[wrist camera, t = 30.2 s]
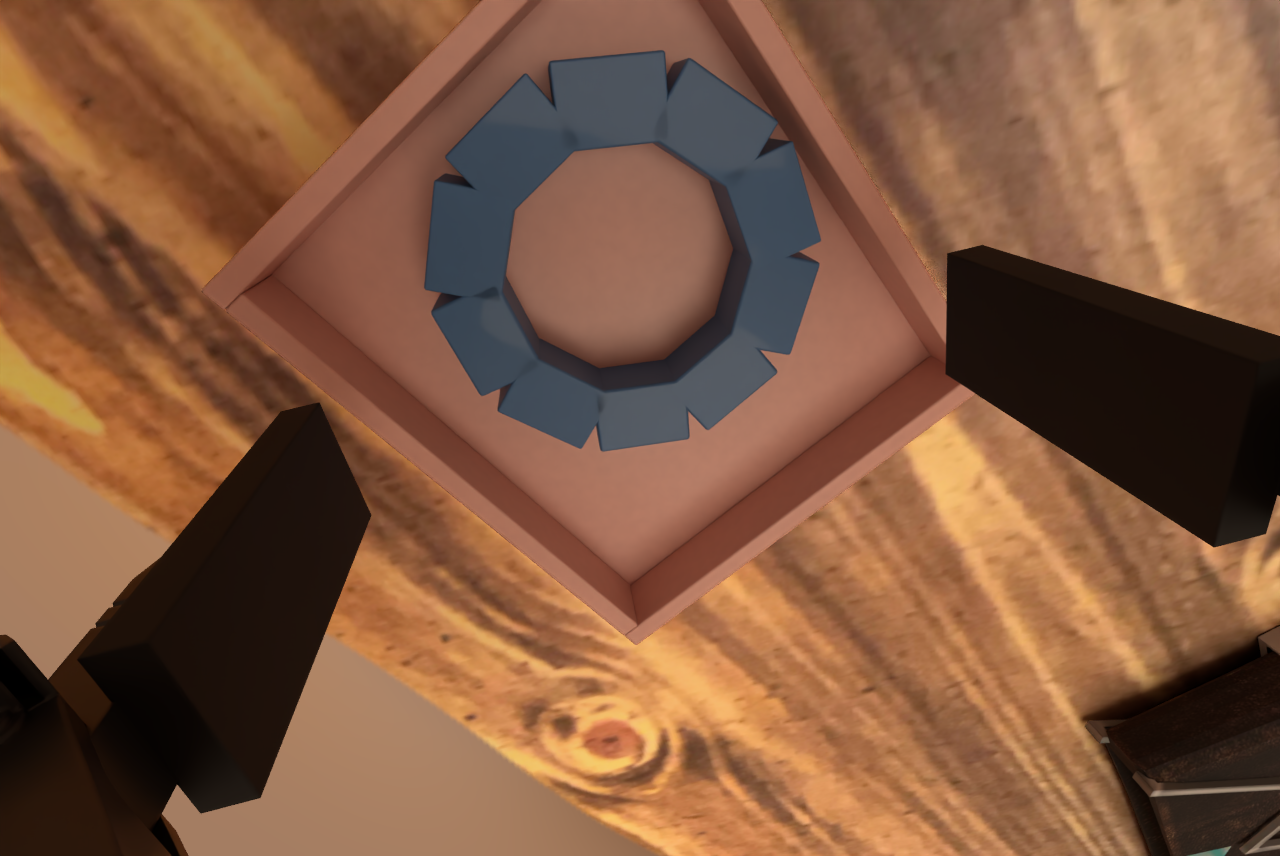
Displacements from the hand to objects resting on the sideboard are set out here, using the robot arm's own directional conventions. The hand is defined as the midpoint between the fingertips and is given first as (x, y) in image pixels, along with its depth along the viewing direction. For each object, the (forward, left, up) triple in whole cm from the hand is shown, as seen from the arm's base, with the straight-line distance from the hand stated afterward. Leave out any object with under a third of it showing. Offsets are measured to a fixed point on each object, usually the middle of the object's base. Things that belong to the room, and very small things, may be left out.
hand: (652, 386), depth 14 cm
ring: (0, +2, -5) cm, 5 cm away
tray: (0, 0, -6) cm, 6 cm away
